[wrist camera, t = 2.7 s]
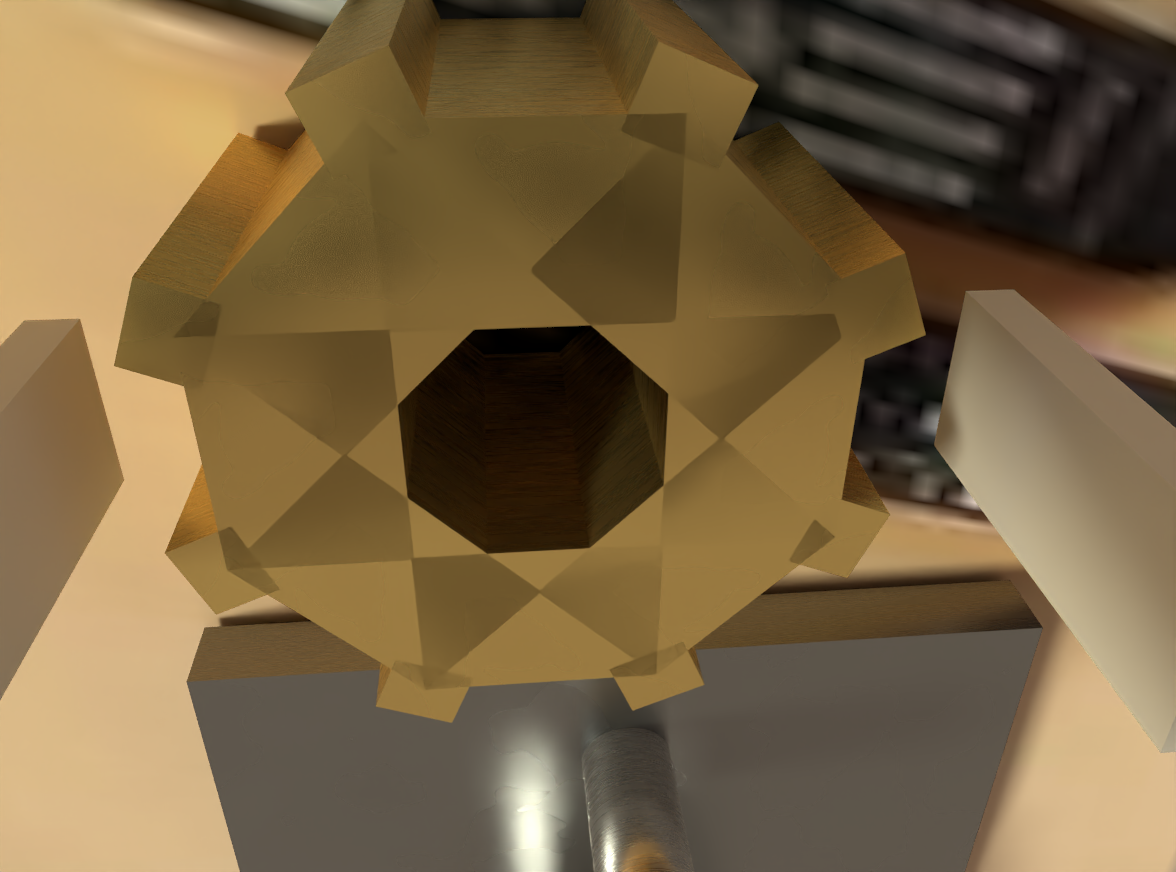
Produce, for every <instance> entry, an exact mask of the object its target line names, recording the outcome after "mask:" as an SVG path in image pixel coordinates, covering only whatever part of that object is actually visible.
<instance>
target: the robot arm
mask: <svg viewBox="0 0 1176 872" xmlns="http://www.w3.org/2000/svg"><path fill="white" fill-rule="evenodd" d="M934 446H935V447H936V448H937V450H938V451H939V453H940V454H941V455H942V457H943V458H944V459H945V461H946V462H947V463H948V465H949V466H950V468H951V469H952V470H953V472H954V473H955V474H956V476H957V477H958V478H959V480H960V481H961V482H962V484H963V485H964V487H965V488H966V489H967V491H968V492H969V493H970V495H971V496H972V497H973V499H974V500H975V501H976V503H977V504H978V506H979V507H980V508H981V510H982V511H983V512H984V514H985V515H986V516H987V518H988V519H989V521H990V522H991V523H992V525H993V526H994V527H995V529H996V530H997V531H998V533H999V534H1000V535H1001V537H1002V538H1003V540H1004V541H1005V542H1006V544H1007V545H1008V546H1009V548H1010V549H1011V550H1012V552H1013V553H1014V554H1015V556H1016V557H1017V559H1018V560H1019V561H1020V563H1021V564H1022V565H1023V567H1024V568H1025V569H1026V571H1027V572H1028V574H1029V575H1030V576H1031V578H1032V579H1033V580H1034V582H1035V583H1036V584H1037V586H1038V587H1039V588H1040V590H1041V591H1042V593H1043V594H1044V595H1045V597H1046V598H1047V599H1048V601H1049V602H1050V603H1051V605H1052V606H1053V607H1054V609H1055V610H1056V612H1057V613H1058V614H1059V616H1060V617H1061V618H1062V620H1063V621H1064V622H1065V624H1066V625H1067V626H1068V628H1069V629H1070V631H1071V632H1072V633H1073V635H1074V636H1075V637H1076V639H1077V640H1078V641H1079V643H1080V644H1081V646H1082V647H1083V648H1084V650H1085V651H1086V652H1087V654H1088V655H1089V656H1090V658H1091V659H1092V660H1093V662H1094V663H1095V665H1096V666H1097V667H1098V669H1099V670H1100V671H1101V673H1102V674H1103V675H1104V677H1105V678H1106V679H1107V681H1108V682H1109V684H1110V685H1111V686H1112V688H1113V689H1114V690H1115V692H1116V693H1117V694H1118V696H1119V697H1120V699H1121V700H1122V701H1123V703H1124V704H1125V705H1126V707H1127V708H1128V709H1129V711H1130V712H1131V713H1132V715H1133V716H1134V718H1135V719H1136V720H1137V722H1138V723H1139V724H1140V726H1141V727H1142V728H1143V730H1144V731H1145V732H1146V734H1147V735H1148V737H1149V738H1150V739H1151V741H1152V742H1153V743H1154V745H1155V746H1156V747H1157V749H1158V750H1159V752H1160V753H1166V752H1176V428H1175V427H1174V426H1172V425H1171V424H1170V423H1169V422H1168V421H1167V420H1165V419H1164V418H1163V417H1162V416H1161V415H1160V414H1158V413H1157V412H1156V411H1155V410H1154V409H1153V408H1152V407H1150V406H1149V405H1148V404H1147V403H1146V402H1145V401H1143V400H1142V399H1141V398H1140V397H1139V396H1138V395H1136V394H1135V393H1134V392H1133V391H1132V390H1131V389H1129V388H1128V387H1127V386H1126V385H1125V384H1124V383H1122V382H1121V381H1120V380H1119V379H1118V378H1117V377H1115V376H1114V375H1113V374H1112V373H1111V372H1110V371H1108V370H1107V369H1106V368H1105V367H1104V366H1103V365H1101V364H1100V363H1099V362H1098V361H1097V360H1096V359H1094V358H1093V357H1092V356H1091V355H1090V354H1089V353H1087V352H1086V351H1085V350H1084V349H1083V348H1082V347H1080V346H1079V345H1078V344H1077V343H1076V342H1075V341H1073V340H1072V339H1071V338H1070V337H1069V336H1068V335H1066V334H1065V333H1064V332H1063V331H1062V330H1061V329H1059V328H1058V327H1057V326H1056V325H1055V324H1054V323H1052V322H1051V321H1050V320H1049V319H1048V318H1047V317H1045V316H1044V315H1043V314H1042V313H1041V312H1040V311H1038V310H1037V309H1036V308H1035V307H1034V306H1033V305H1031V304H1030V303H1029V302H1028V301H1027V300H1026V299H1024V298H1023V297H1022V296H1021V295H1020V294H1019V293H1017V292H1016V291H1015V290H1014V289H1012V290H981V291H966V292H965V297H964V302H963V307H962V311H961V316H960V321H959V326H958V331H957V336H956V341H955V345H954V350H953V355H952V360H951V365H950V370H949V375H948V380H947V384H946V389H945V394H944V399H943V404H942V409H941V414H940V418H939V423H938V428H937V433H936V438H935V443H934ZM123 481H124V478H123V475H122V471H121V467H120V464H119V460H118V456H117V453H116V449H115V445H114V442H113V438H112V434H111V431H110V427H109V423H108V420H107V416H106V412H105V409H104V405H103V402H102V398H101V394H100V391H99V387H98V383H97V380H96V376H95V372H94V369H93V365H92V361H91V358H90V354H89V350H88V347H87V343H86V339H85V336H84V332H83V328H82V325H81V321H80V319H60V320H28V321H24V322H23V323H22V324H21V325H20V326H19V327H18V328H17V329H16V330H15V331H14V332H13V333H12V334H11V335H10V336H9V337H8V338H7V339H6V340H5V342H4V343H3V344H2V345H1V346H0V700H1V698H2V696H3V694H4V692H5V691H6V689H7V687H8V685H9V684H10V682H11V680H12V678H13V676H14V675H15V673H16V671H17V669H18V668H19V666H20V664H21V662H22V660H23V659H24V657H25V655H26V653H27V652H28V650H29V648H30V646H31V644H32V643H33V641H34V639H35V637H36V636H37V634H38V632H39V630H40V629H41V627H42V625H43V623H44V621H45V620H46V618H47V616H48V614H49V613H50V611H51V609H52V607H53V605H54V604H55V602H56V600H57V598H58V597H59V595H60V593H61V591H62V589H63V588H64V586H65V584H66V582H67V581H68V579H69V577H70V575H71V573H72V572H73V570H74V568H75V566H76V565H77V563H78V561H79V559H80V557H81V556H82V554H83V552H84V550H85V549H86V547H87V545H88V543H89V541H90V540H91V538H92V536H93V534H94V533H95V531H96V529H97V527H98V525H99V524H100V522H101V520H102V518H103V517H104V515H105V513H106V511H107V509H108V508H109V506H110V504H111V502H112V501H113V499H114V497H115V495H116V493H117V492H118V490H119V488H120V486H121V485H122V483H123Z"/></svg>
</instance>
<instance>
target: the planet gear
mask: <svg viewBox="0 0 1176 872" xmlns="http://www.w3.org/2000/svg"><path fill="white" fill-rule="evenodd" d="M757 88H758V84H757V83H756V82H755V81H754V80H753V79H752V78H751V77H750V76H749V75H748V74H747V73H746V72H745V71H744V70H743V69H742V68H741V67H740V66H739V65H738V64H737V63H736V62H734V61H733V60H732V59H731V58H730V57H729V56H728V55H727V54H726V53H725V52H724V51H723V50H722V49H721V48H720V47H719V46H718V45H717V44H716V43H715V42H714V41H713V40H712V39H711V38H710V37H709V36H708V35H707V34H706V33H705V32H704V31H703V30H702V29H701V28H700V27H699V26H698V25H697V24H696V23H695V22H694V21H693V20H692V19H691V18H690V17H689V16H688V15H687V14H686V13H685V12H684V11H682V10H681V9H680V8H679V7H678V6H677V5H676V4H675V3H674V2H673V1H672V0H586V3H585V6H584V8H583V11H582V13H581V16H580V18H494V19H441V18H440V15H439V13H438V11H437V9H436V7H435V5H434V2H433V0H347V2H346V3H345V5H344V6H343V8H342V9H341V11H340V12H339V14H338V15H337V17H336V18H335V19H334V21H333V22H332V24H331V25H330V27H329V28H328V30H327V31H326V33H325V34H324V36H323V37H322V39H321V40H320V42H319V43H318V45H317V46H316V48H315V49H314V51H313V52H312V54H311V55H310V57H309V58H308V60H307V61H306V63H305V64H304V66H303V67H302V69H301V70H300V72H299V73H298V75H297V76H296V78H295V79H294V81H293V82H292V84H291V85H290V86H289V88H288V89H287V91H286V92H285V94H286V96H287V98H288V100H289V101H290V103H291V105H292V107H293V108H294V110H295V112H296V114H297V116H298V117H299V119H300V121H301V123H302V124H303V126H304V128H305V131H304V132H303V133H302V134H301V135H300V137H299V138H298V139H297V140H296V141H295V143H294V144H293V145H292V146H291V147H290V148H289V150H285V149H282V148H279V147H277V146H274V145H271V144H268V143H266V142H263V141H260V140H257V139H255V138H252V137H249V136H246V135H244V134H241V133H238V134H237V135H236V137H235V138H234V139H233V141H232V142H231V143H230V145H229V146H228V147H227V149H226V150H225V152H224V153H223V154H222V156H221V157H220V158H219V160H218V161H217V162H216V164H215V165H214V167H213V168H212V169H211V171H210V172H209V173H208V175H207V176H206V177H205V179H204V180H203V182H202V183H201V184H200V186H199V187H198V188H197V190H196V191H195V192H194V194H193V195H192V197H191V198H190V199H189V201H188V202H187V203H186V205H185V206H184V207H183V209H182V210H181V212H180V213H179V214H178V216H177V217H176V218H175V220H174V221H173V222H172V224H171V225H170V227H169V228H168V229H167V231H166V232H165V233H164V235H163V236H162V237H161V239H160V240H159V242H158V243H157V244H156V246H155V247H154V248H153V250H152V251H151V252H150V254H149V255H148V257H147V258H146V259H145V261H144V262H143V263H142V265H141V266H140V267H139V269H138V270H137V272H136V273H135V274H134V276H133V277H132V282H131V287H130V291H129V296H128V301H127V306H126V311H125V316H124V320H123V325H122V330H121V335H120V340H119V344H118V349H117V354H116V359H115V364H114V366H116V367H119V368H123V369H126V370H130V371H133V372H137V373H140V374H144V375H147V376H150V377H154V378H157V379H161V380H164V381H168V382H171V383H175V384H178V385H182V386H184V388H185V392H186V397H187V401H188V405H189V410H190V414H191V418H192V422H193V427H194V431H195V435H196V440H197V444H198V448H199V452H200V457H201V461H202V466H201V468H200V470H199V473H198V475H197V478H196V480H195V482H194V485H193V487H192V490H191V492H190V494H189V497H188V499H187V501H186V504H185V506H184V509H183V511H182V513H181V516H180V518H179V521H178V523H177V525H176V528H175V530H174V533H173V535H172V537H171V540H170V542H169V545H168V547H167V549H166V552H165V554H166V555H167V556H168V557H169V559H170V560H171V561H172V562H173V563H174V565H175V566H176V567H177V568H178V569H179V571H180V572H181V573H182V574H183V575H184V577H185V578H186V579H187V580H188V581H189V583H190V584H191V585H192V586H193V587H194V589H195V590H196V591H197V592H198V593H199V595H200V596H201V597H202V598H203V599H204V601H205V602H206V603H207V604H208V605H209V607H210V608H211V609H212V610H213V611H214V613H215V614H219V613H222V612H224V611H227V610H229V609H232V608H234V607H237V606H239V605H242V604H244V603H247V602H249V601H252V600H255V599H257V598H260V597H262V596H265V595H269V596H271V597H272V598H274V599H276V600H277V601H279V602H281V603H282V604H284V605H286V606H287V607H289V608H291V609H292V610H294V611H296V612H297V613H299V614H301V615H302V616H304V617H306V618H307V619H309V620H311V621H312V622H314V623H316V624H317V625H319V626H321V627H322V628H324V629H326V630H327V631H329V632H331V633H332V634H334V635H336V636H337V637H339V638H341V639H342V640H344V641H346V642H347V643H349V644H351V645H352V646H354V647H356V648H357V649H359V650H361V651H362V652H364V653H366V654H367V655H369V656H371V657H372V658H374V659H376V660H377V661H379V662H381V664H380V673H379V682H378V691H377V700H376V707H380V708H385V709H390V710H394V711H399V712H404V713H408V714H413V715H418V716H422V717H427V718H432V719H436V720H441V721H445V722H450V723H452V722H453V720H454V718H455V716H456V714H457V712H458V709H459V707H460V705H461V703H462V701H463V699H464V697H465V695H466V693H467V691H468V689H469V687H474V686H490V685H505V684H520V683H536V682H551V681H567V680H582V679H598V678H613V677H614V679H615V681H616V682H617V684H618V686H619V688H620V689H621V691H622V693H623V695H624V696H625V698H626V700H627V702H628V704H629V705H630V707H631V709H632V711H633V710H636V709H639V708H641V707H644V706H647V705H650V704H653V703H655V702H658V701H661V700H664V699H666V698H669V697H672V696H675V695H678V694H680V693H683V692H686V691H689V690H692V689H694V688H697V687H700V686H703V685H704V681H703V677H702V673H701V669H700V665H699V661H698V658H697V654H696V650H695V646H694V645H695V644H697V643H698V642H699V641H701V640H702V639H703V638H705V637H706V636H707V635H709V634H710V633H711V632H712V631H714V630H715V629H716V628H718V627H719V626H720V625H722V624H723V623H724V622H725V621H727V620H728V619H729V618H731V617H732V616H733V615H735V614H736V613H737V612H738V611H740V610H741V609H742V608H744V607H745V606H746V605H748V604H749V603H750V602H751V601H753V600H754V599H755V598H757V597H758V596H759V595H761V594H762V593H763V592H764V591H766V590H767V589H768V588H770V587H771V586H772V585H774V584H775V583H776V582H778V581H779V580H780V579H781V578H783V577H784V576H785V575H787V574H788V573H789V572H791V571H792V570H793V569H794V568H796V567H797V566H798V565H804V566H807V567H811V568H814V569H818V570H821V571H825V572H828V573H831V574H835V575H838V576H842V577H845V578H848V576H849V575H850V573H851V572H852V570H853V569H854V567H855V566H856V564H857V563H858V561H859V560H860V558H861V557H862V556H863V554H864V553H865V551H866V550H867V548H868V547H869V545H870V544H871V542H872V541H873V539H874V538H875V536H876V535H877V533H878V532H879V530H880V529H881V527H882V526H883V525H884V523H885V522H886V520H887V519H888V517H889V516H890V514H889V512H888V510H887V509H886V507H885V505H884V504H883V502H882V500H881V498H880V497H879V495H878V493H877V492H876V490H875V488H874V487H873V485H872V483H871V481H870V480H869V478H868V476H867V475H866V473H865V471H864V469H863V468H862V466H861V464H860V463H859V461H858V459H857V457H856V456H855V454H854V452H853V451H852V449H851V447H850V446H851V440H852V434H853V428H854V422H855V416H856V410H857V404H858V398H859V392H860V386H861V380H862V374H863V367H864V361H865V359H866V358H869V357H871V356H874V355H876V354H879V353H882V352H884V351H887V350H889V349H892V348H894V347H897V346H899V345H902V344H904V343H907V342H909V341H912V340H915V339H917V338H920V337H922V336H925V335H926V334H925V330H924V326H923V322H922V318H921V314H920V310H919V306H918V301H917V297H916V293H915V289H914V285H913V281H912V277H911V273H910V269H909V265H908V261H907V257H906V253H905V252H904V251H903V250H902V249H901V248H900V247H899V246H898V245H897V244H896V243H895V242H894V241H893V240H892V238H891V237H890V236H889V235H888V234H887V233H886V232H885V231H884V230H883V229H882V228H881V227H880V226H879V225H878V224H877V223H876V222H875V221H874V220H873V219H872V218H871V217H870V216H869V215H868V214H867V213H866V212H865V211H864V209H863V208H862V207H861V206H860V205H859V204H858V203H857V202H856V201H855V200H854V199H853V198H852V197H851V196H850V195H849V194H848V193H847V192H846V191H845V190H844V189H843V188H842V187H841V186H840V185H839V184H838V183H837V181H836V180H835V179H834V178H833V177H832V176H831V175H830V174H829V173H828V172H827V171H826V170H825V169H824V168H823V167H822V166H821V165H820V164H819V163H818V162H817V161H816V160H815V159H814V158H813V157H812V156H811V155H810V154H809V152H808V151H807V150H806V149H805V148H804V147H803V146H802V145H801V144H800V143H799V142H798V141H797V140H796V139H795V138H794V137H793V136H792V135H791V134H790V133H789V132H788V131H787V130H786V129H785V128H784V127H783V126H782V124H781V123H780V122H777V123H775V124H773V125H770V126H768V127H766V128H763V129H761V130H759V131H756V132H754V133H752V134H749V135H747V136H745V137H742V138H740V139H738V140H735V141H734V140H733V137H734V135H735V133H736V131H737V129H738V127H739V125H740V123H741V121H742V119H743V117H744V115H745V113H746V110H747V108H748V106H749V104H750V102H751V100H752V98H753V96H754V94H755V92H756V90H757ZM586 325H587V326H586ZM559 326H586V327H585V328H584V329H583V330H582V331H581V332H580V333H579V334H578V335H577V336H576V337H574V338H573V339H572V340H571V341H570V342H569V343H568V344H567V345H566V346H565V347H564V348H563V349H562V350H561V351H560V352H540V353H514V354H488V355H484V354H483V353H482V352H480V351H479V350H478V349H477V348H476V347H474V346H473V345H472V344H471V343H469V342H468V341H467V340H466V339H465V338H466V337H467V336H468V335H469V334H470V333H471V332H472V331H473V330H476V329H504V328H531V327H559Z"/></svg>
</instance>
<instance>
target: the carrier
mask: <svg viewBox="0 0 1176 872" xmlns="http://www.w3.org/2000/svg"><path fill="white" fill-rule="evenodd" d="M1042 629H1043V627H1042V626H1041V624H1040V623H1039V622H1038V620H1037V619H1036V617H1035V616H1034V614H1033V613H1032V611H1031V610H1030V609H1029V607H1028V606H1027V604H1026V603H1025V601H1024V600H1023V598H1022V597H1021V596H1020V594H1019V593H1018V591H1017V590H1016V588H1015V587H1014V585H1013V584H1012V582H1011V581H1010V580H1004V581H987V582H970V583H953V584H936V585H919V586H902V587H885V588H868V589H851V590H834V591H817V592H800V593H783V594H766V595H759V596H758V597H757V598H755V599H754V600H753V601H751V602H750V603H749V604H748V605H746V606H745V607H744V608H742V609H741V610H740V611H738V612H737V613H736V614H735V615H733V616H732V617H731V618H729V619H728V620H727V621H725V622H724V623H723V624H722V625H720V626H719V627H718V628H716V629H715V630H714V631H712V632H711V633H710V634H709V635H707V636H706V637H705V638H703V639H702V640H701V641H699V642H698V643H697V644H695V645H694V646H695V650H696V654H697V658H698V661H699V665H700V669H701V673H702V677H703V681H704V685H703V686H700V687H697V688H694V689H692V690H689V691H686V692H683V693H680V694H678V695H675V696H672V697H669V698H666V699H664V700H661V701H658V702H655V703H653V704H650V705H647V706H644V707H641V708H639V709H636V710H633V711H632V709H631V707H630V705H629V704H628V702H627V700H626V698H625V696H624V695H623V693H622V691H621V689H620V688H619V686H618V684H617V682H616V681H615V679H614V677H613V678H598V679H582V680H567V681H551V682H536V683H520V684H505V685H490V686H474V687H469V689H468V691H467V693H466V695H465V697H464V699H463V701H462V703H461V705H460V707H459V709H458V712H457V714H456V716H455V718H454V720H453V722H452V723H450V722H445V721H441V720H436V719H432V718H427V717H422V716H418V715H413V714H408V713H404V712H399V711H394V710H390V709H385V708H380V707H376V700H377V691H378V682H379V673H380V664H381V662H379V661H377V660H376V659H374V658H372V657H371V656H369V655H367V654H366V653H364V652H362V651H361V650H359V649H357V648H356V647H354V646H352V645H351V644H349V643H347V642H346V641H344V640H342V639H341V638H339V637H337V636H336V635H334V634H332V633H331V632H329V631H327V630H326V629H324V628H322V627H321V626H319V625H317V624H316V623H314V622H312V621H308V622H291V623H274V624H257V625H240V626H223V627H206V628H204V631H203V634H202V637H201V640H200V643H199V646H198V649H197V652H196V655H195V658H194V661H193V664H192V667H191V670H190V673H189V676H188V679H187V685H188V688H189V692H190V695H191V699H192V702H193V706H194V710H195V713H196V717H197V720H198V724H199V727H200V731H201V734H202V738H203V742H204V745H205V749H206V752H207V756H208V759H209V763H210V766H211V770H212V774H213V777H214V781H215V784H216V788H217V791H218V795H219V799H220V802H221V806H222V809H223V813H224V816H225V820H226V823H227V827H228V831H229V834H230V838H231V841H232V845H233V848H234V852H235V855H236V859H237V863H238V866H239V870H240V872H965V870H966V867H967V863H968V860H969V857H970V854H971V851H972V848H973V845H974V842H975V838H976V835H977V832H978V829H979V826H980V823H981V820H982V817H983V813H984V810H985V807H986V804H987V801H988V798H989V795H990V792H991V788H992V785H993V782H994V779H995V776H996V773H997V770H998V767H999V763H1000V760H1001V757H1002V754H1003V751H1004V748H1005V745H1006V741H1007V738H1008V735H1009V732H1010V729H1011V726H1012V723H1013V720H1014V716H1015V713H1016V710H1017V707H1018V704H1019V701H1020V698H1021V695H1022V691H1023V688H1024V685H1025V682H1026V679H1027V676H1028V673H1029V670H1030V666H1031V663H1032V660H1033V657H1034V654H1035V651H1036V648H1037V645H1038V641H1039V638H1040V635H1041V632H1042Z"/></svg>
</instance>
